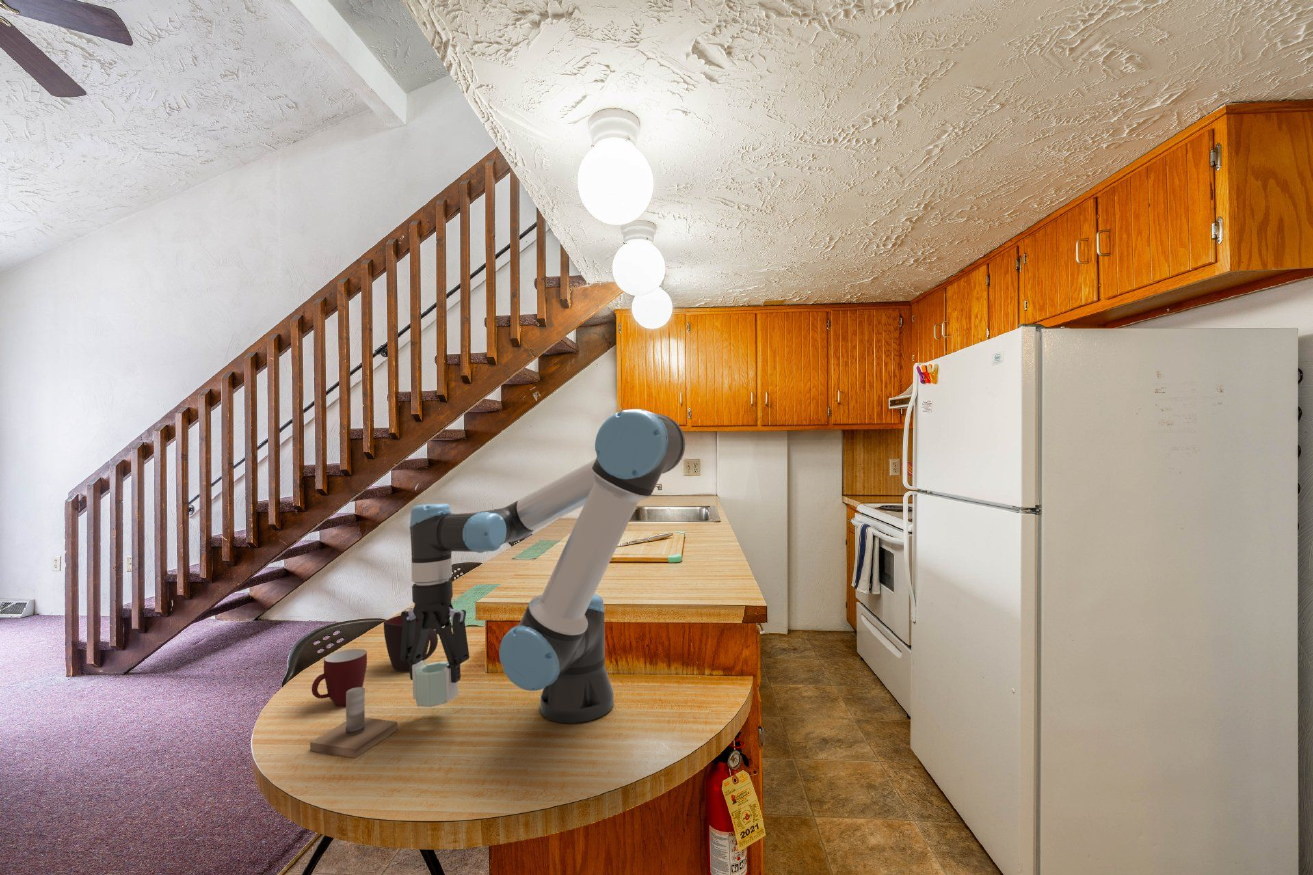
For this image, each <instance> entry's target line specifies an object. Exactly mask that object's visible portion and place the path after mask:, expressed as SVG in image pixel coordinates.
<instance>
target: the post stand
mask: <svg viewBox="0 0 1313 875" xmlns="http://www.w3.org/2000/svg"><path fill="white" fill-rule="evenodd" d="M365 690H366V689H365V688H364V687H357V688H352V689H350V690H348V691H347V692H346V706H345V721H344V722H343V723H341V724H339V725H337V726H335V727H334V728H331V729H330V730H329V731H326V732H325V733H323V734H322V735H321V736H318V737H317V738H315V739H313V740H312V741H310V742H309V743H310V744H309V751H311V752H315V753H316V752H317V753H322V754H329V755H334V756H340V757H346V758H353V759H357V758H358V757H359V756H361V755H362V754H364V753H366V751H368V750H369V749H371V748H372V747H374V746H375V745H377V744H378V743H380V742H382V741H383V740H385V739H386V738H387V737H389V736H390V735H392V734H394V733H395V732H396V731H398V721H396V720H394V721H393V720H388V719H379V718H373V717H367V716H366V717H365V712H366V710H365V707H366V706H365V705H366V704H365V703H366V702H365V701H366V698H365V695H366V693H365V692H366V691H365Z"/></svg>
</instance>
